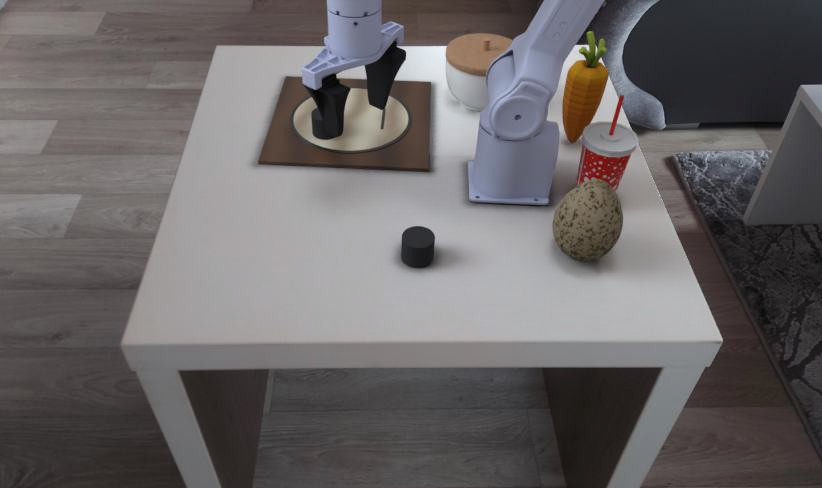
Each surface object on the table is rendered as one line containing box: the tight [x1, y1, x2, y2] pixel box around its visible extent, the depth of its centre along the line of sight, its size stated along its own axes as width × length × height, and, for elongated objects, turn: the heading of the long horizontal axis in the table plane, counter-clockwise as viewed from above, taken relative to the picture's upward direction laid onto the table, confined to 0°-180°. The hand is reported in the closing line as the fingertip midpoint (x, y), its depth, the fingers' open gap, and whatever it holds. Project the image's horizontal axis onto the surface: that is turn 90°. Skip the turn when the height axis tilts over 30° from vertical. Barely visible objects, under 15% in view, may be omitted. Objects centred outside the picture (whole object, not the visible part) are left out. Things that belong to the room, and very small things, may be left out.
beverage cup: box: [574, 94, 640, 194], centre depth 79 cm, size 6×6×14 cm
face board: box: [257, 75, 432, 173], centre depth 97 cm, size 22×22×1 cm
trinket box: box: [444, 32, 514, 112], centre depth 98 cm, size 11×11×9 cm
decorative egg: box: [552, 179, 624, 262], centre depth 74 cm, size 7×7×10 cm
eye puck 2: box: [400, 225, 436, 269], centre depth 76 cm, size 4×4×3 cm
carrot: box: [561, 30, 610, 144], centre depth 88 cm, size 5×5×15 cm
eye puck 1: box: [311, 107, 336, 140], centre depth 93 cm, size 4×4×3 cm
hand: (356, 119), depth 82 cm, fingers open, 7 cm apart
